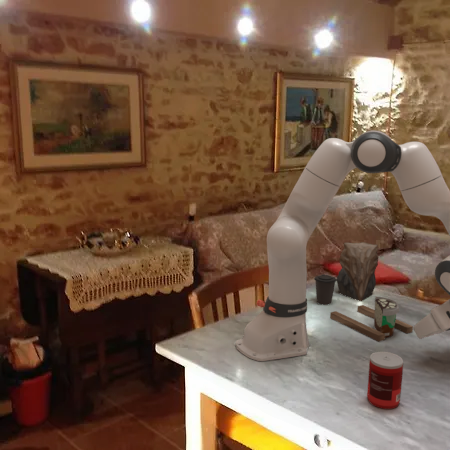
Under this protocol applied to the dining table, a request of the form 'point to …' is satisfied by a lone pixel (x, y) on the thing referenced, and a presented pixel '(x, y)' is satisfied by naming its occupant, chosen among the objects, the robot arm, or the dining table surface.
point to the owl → (358, 270)
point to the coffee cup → (324, 288)
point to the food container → (385, 315)
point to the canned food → (385, 379)
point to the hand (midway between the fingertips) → (427, 333)
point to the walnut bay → (364, 328)
